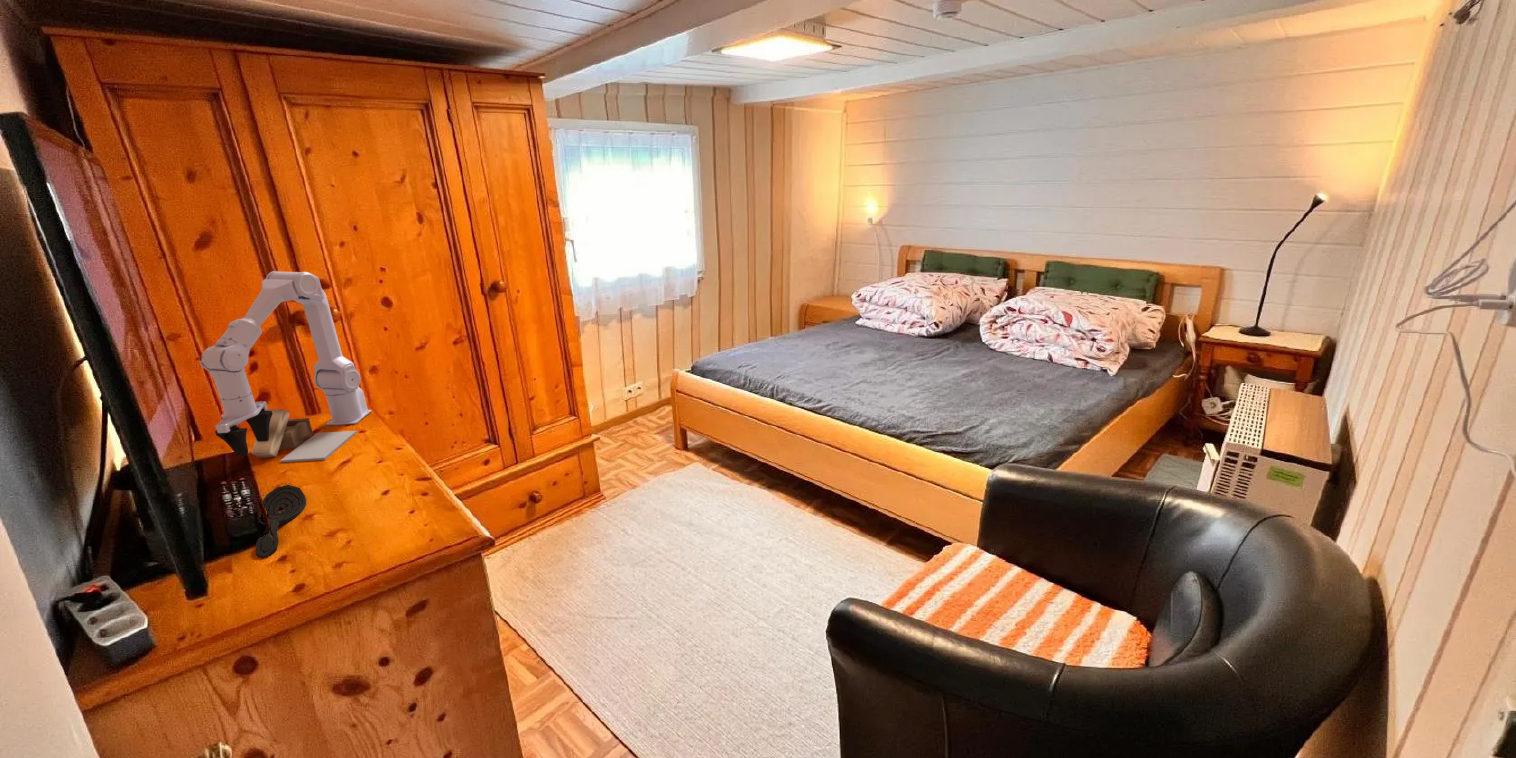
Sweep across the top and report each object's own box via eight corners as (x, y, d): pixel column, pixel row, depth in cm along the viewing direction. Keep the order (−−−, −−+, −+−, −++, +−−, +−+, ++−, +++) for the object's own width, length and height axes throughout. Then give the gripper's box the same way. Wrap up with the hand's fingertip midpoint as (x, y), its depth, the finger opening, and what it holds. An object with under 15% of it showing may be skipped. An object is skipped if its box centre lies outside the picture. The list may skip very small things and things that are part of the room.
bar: (273, 414, 152) (265, 409, 149) (290, 414, 152) (283, 408, 150) (259, 457, 146) (251, 453, 144) (276, 456, 147) (269, 452, 144)
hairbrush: (232, 554, 106) (258, 486, 126) (238, 570, 107) (263, 501, 127) (289, 540, 110) (305, 477, 130) (294, 556, 111) (310, 491, 131)
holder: (281, 436, 158) (276, 419, 156) (313, 435, 159) (308, 418, 157) (261, 450, 150) (255, 433, 148) (295, 448, 151) (290, 431, 149)
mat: (317, 434, 159) (316, 432, 158) (357, 432, 160) (356, 430, 160) (280, 462, 144) (280, 460, 144) (325, 459, 145) (324, 457, 145)
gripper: (238, 385, 143) (254, 435, 148) (193, 408, 130) (213, 462, 134) (270, 384, 144) (285, 434, 149) (228, 406, 131) (247, 460, 135)
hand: (253, 447), depth 142 cm, fingers open, 7 cm apart
